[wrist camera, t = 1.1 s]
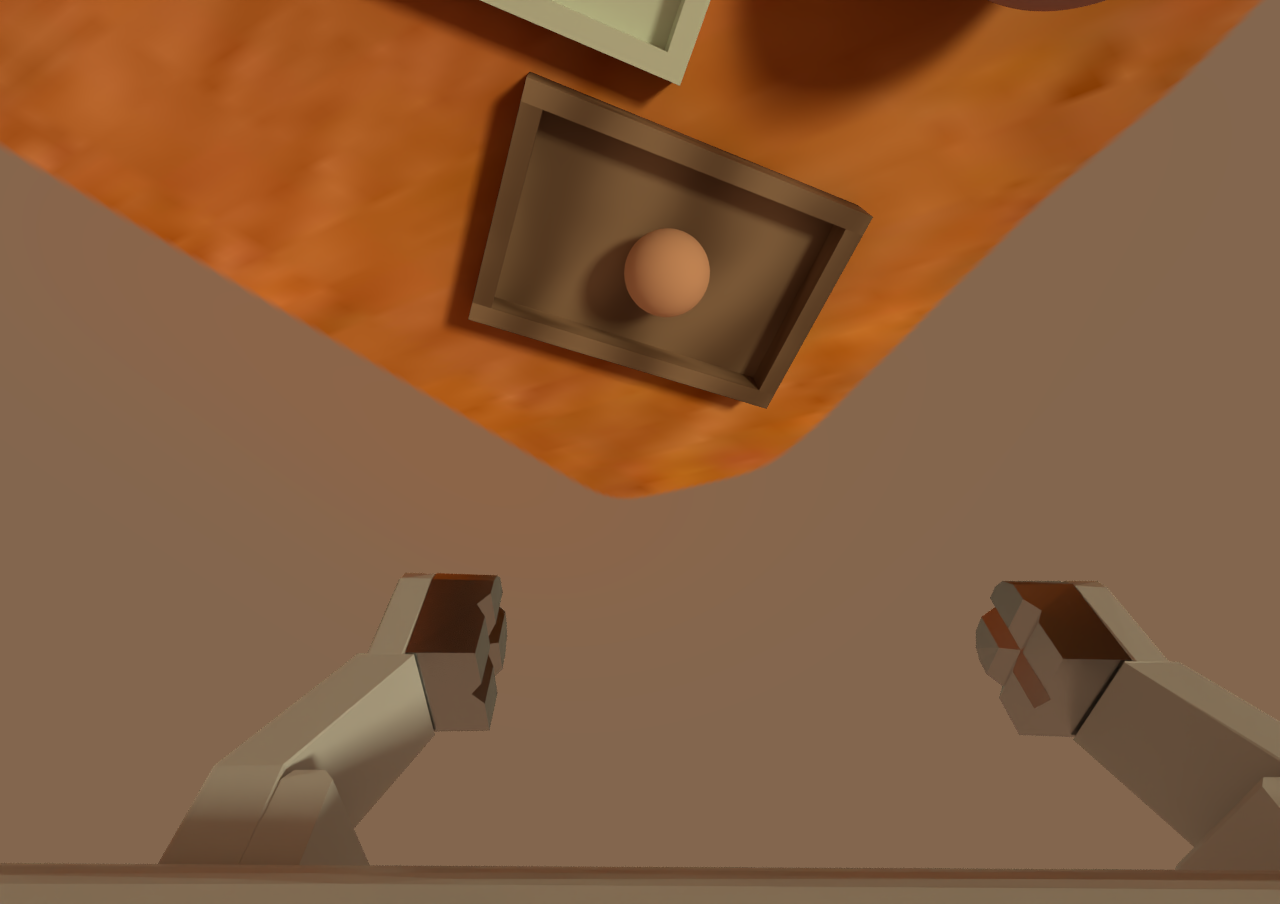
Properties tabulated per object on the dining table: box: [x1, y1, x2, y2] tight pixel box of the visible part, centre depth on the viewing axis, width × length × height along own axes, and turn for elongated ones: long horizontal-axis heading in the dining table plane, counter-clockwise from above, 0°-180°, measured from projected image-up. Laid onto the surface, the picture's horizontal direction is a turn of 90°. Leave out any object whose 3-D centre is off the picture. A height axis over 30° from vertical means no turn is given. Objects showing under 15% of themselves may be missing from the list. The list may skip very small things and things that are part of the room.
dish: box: [469, 72, 873, 409], centre depth 35 cm, size 18×12×2 cm, turn 69°
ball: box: [624, 228, 710, 317], centre depth 33 cm, size 4×4×4 cm
